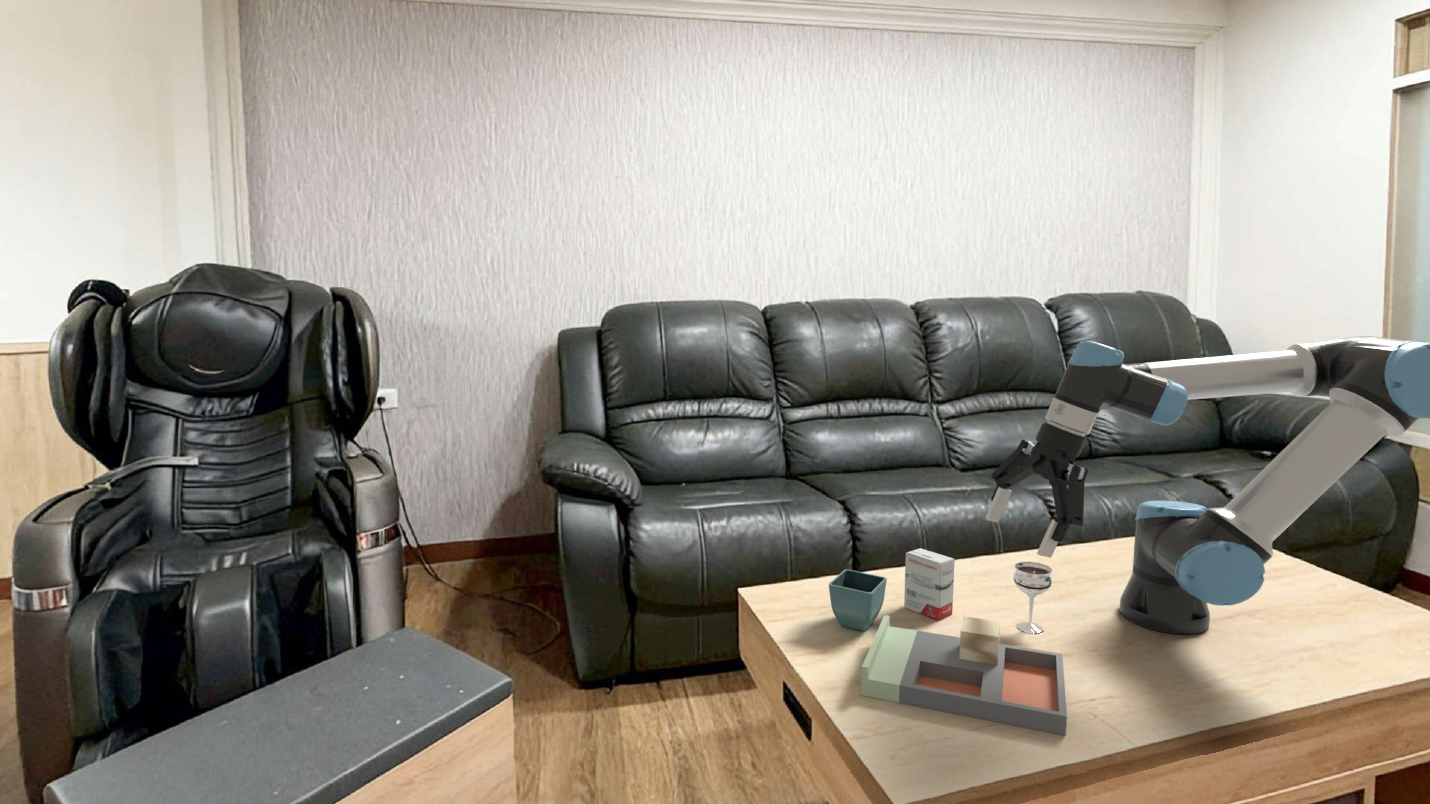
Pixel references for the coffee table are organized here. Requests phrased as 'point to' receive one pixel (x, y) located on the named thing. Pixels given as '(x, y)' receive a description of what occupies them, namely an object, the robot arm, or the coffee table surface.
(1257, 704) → the coffee table surface
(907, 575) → the ink box
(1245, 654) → the coffee table surface
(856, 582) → the flower pot
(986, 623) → the birch block
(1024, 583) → the wineglass
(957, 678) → the grey compartment tray
